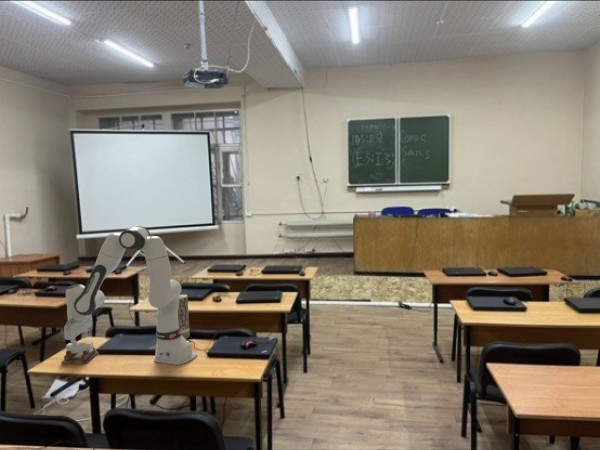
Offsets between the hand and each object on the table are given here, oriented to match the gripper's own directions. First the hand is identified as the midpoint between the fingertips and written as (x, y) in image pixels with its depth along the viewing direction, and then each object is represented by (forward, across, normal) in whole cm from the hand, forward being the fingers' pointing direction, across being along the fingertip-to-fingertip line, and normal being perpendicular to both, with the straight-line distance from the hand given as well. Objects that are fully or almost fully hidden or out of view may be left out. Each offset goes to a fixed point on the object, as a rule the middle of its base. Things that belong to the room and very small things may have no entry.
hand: (80, 341), depth 213 cm
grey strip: (+6, 0, +1) cm, 6 cm away
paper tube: (+11, +28, -45) cm, 54 cm away
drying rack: (+10, 0, +1) cm, 10 cm away
